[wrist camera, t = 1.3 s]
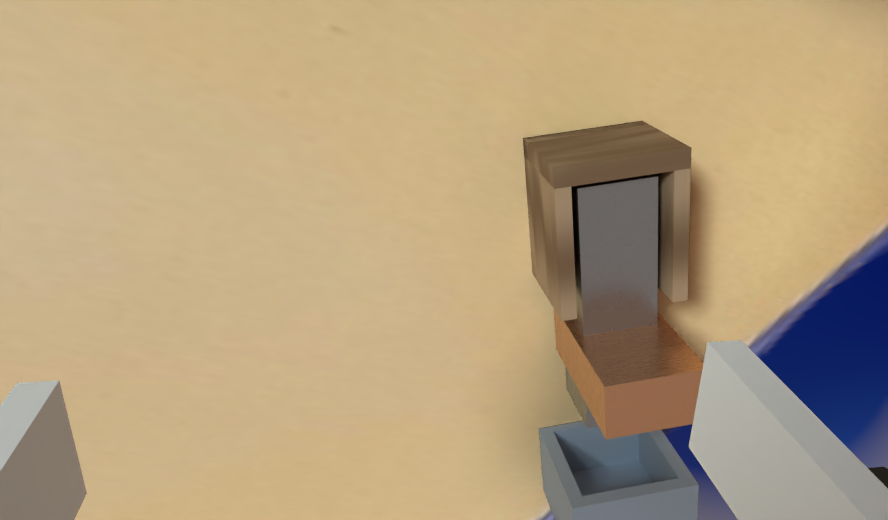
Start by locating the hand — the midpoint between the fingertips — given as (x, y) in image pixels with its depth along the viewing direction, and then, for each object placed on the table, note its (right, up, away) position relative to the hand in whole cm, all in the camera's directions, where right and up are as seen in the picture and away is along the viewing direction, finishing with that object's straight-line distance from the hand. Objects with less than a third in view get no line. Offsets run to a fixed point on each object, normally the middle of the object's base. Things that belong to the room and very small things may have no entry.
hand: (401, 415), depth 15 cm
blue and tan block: (+9, +2, +26) cm, 28 cm away
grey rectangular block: (+11, -9, +32) cm, 36 cm away
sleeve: (+9, +7, +26) cm, 28 cm away
